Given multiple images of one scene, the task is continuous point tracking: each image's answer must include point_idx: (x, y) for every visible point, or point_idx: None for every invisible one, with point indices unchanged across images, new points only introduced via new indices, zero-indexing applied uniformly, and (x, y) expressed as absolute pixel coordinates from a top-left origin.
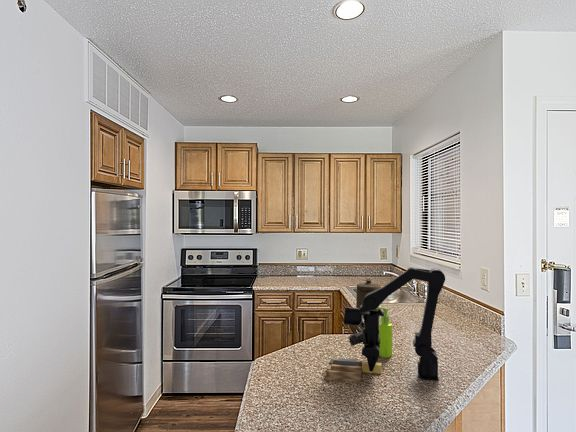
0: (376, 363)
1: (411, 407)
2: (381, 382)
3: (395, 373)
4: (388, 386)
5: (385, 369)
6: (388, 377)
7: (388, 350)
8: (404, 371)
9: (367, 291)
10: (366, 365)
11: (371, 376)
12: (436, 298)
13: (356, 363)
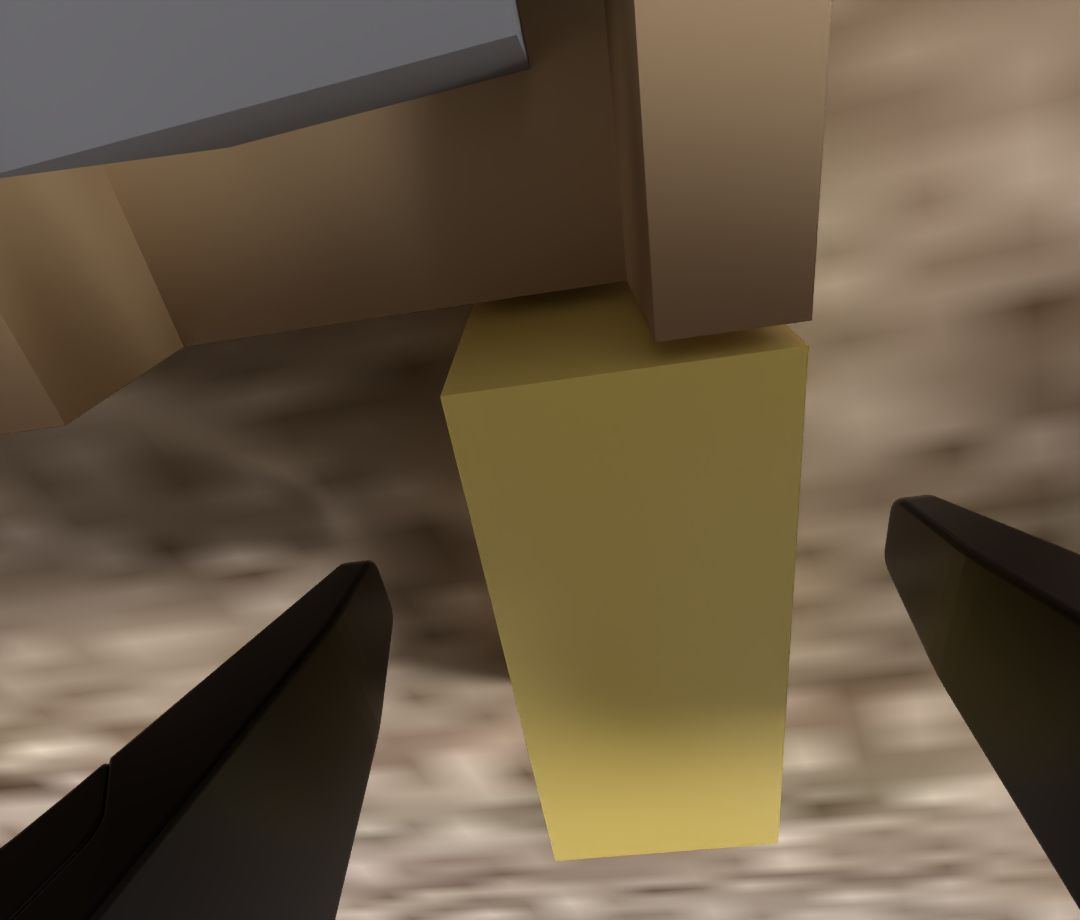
0: (686, 764)
1: None
2: (99, 733)
3: None
4: (20, 819)
5: (829, 712)
6: (410, 786)
7: None
8: (789, 909)
9: None
10: (475, 515)
11: (281, 553)
12: None
13: (30, 168)
